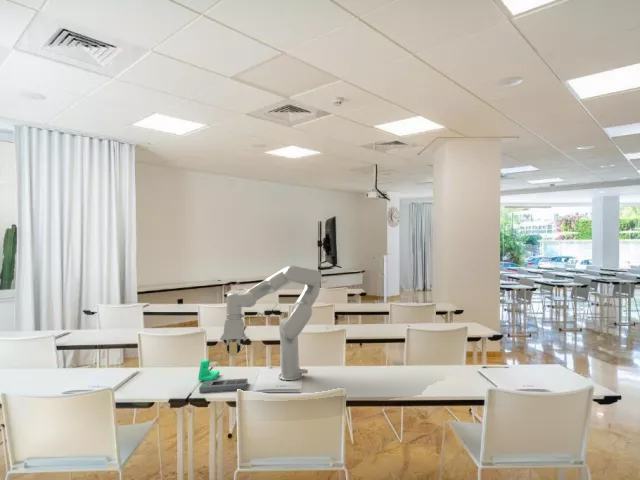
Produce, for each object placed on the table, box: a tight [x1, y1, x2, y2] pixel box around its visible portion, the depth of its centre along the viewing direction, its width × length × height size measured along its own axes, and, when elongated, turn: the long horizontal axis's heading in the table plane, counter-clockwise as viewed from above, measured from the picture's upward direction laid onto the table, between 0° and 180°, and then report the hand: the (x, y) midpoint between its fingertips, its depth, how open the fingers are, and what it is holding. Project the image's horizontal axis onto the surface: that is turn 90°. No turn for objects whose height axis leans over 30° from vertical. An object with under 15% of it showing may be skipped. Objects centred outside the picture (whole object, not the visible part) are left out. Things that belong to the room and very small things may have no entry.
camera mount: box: [197, 359, 220, 381], centre depth 210 cm, size 12×8×10 cm, turn 176°
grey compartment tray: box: [198, 377, 249, 394], centre depth 194 cm, size 22×10×3 cm, turn 94°
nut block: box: [228, 339, 239, 357], centre depth 201 cm, size 4×4×7 cm
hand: (233, 352), depth 201 cm, fingers closed on nut block, 4 cm apart
